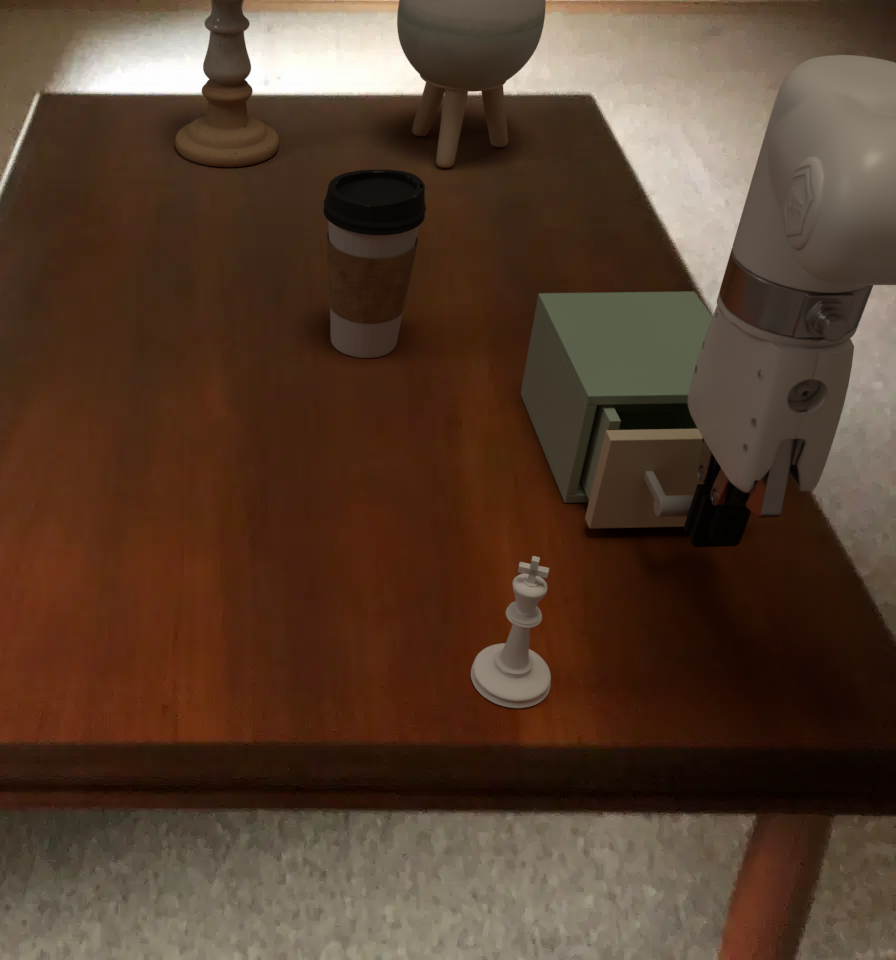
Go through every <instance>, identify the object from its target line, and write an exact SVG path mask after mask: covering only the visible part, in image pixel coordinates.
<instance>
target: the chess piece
mask: <svg viewBox="0 0 896 960" xmlns="http://www.w3.org/2000/svg"><path fill="white" fill-rule="evenodd" d="M540 558H541V557H539V556H536V555H532V556H531V561H530V563H528V562H524V561H519V563H518V569H517V573H520V574H518V575H516V576H515V577H514V578H513V580H512V591H513V594H514V599H515V601H512V602H510V604H509V605H508V606H507V607H506V609H505V617H506V618H507V620H508V621H509V622H510V623H511V624H512V625H511V629H510V630H509V633H508V636H507V638H506V641H505V642H502V643H495V644H492V645H489V646H486V647H485V648H483V649H482V650H481V651H479V652H478V653H477V655H475V658H474V659H473V663H472V665H471V668H470V679H471V682H472V684H473V687H474V688H475V690H476V691H477V692H478V693H479V694H480V695H481V696H482V697H483V698H484V699H486V700H487V701H489V702H491V703H492V704H495V705H498V706H500V707H503V708H510V709H527V708H530V707H533V706H536V705H539V704H540V703H541V702H542V701H544V700H545V699H546V698H547V696H548V694H549V693H550V690H551V685H552V684H551V683H552V681H551V680H552V675H551V670H550V668H549V666H548V663H547V662H546V661H545V660H544V659H543V657H541V656H540V655H539V654H538V653H537V652H535V651H534V650H533V649H530V635H531V634H530V632H531V628H532V629H533V628H535V627H537V626H539V625H540V624H541V622H542V620H543V615H542V614H543V613H542V610H541V609H540V608H539V606H538V605H539V604H540V602H541V601H542V600H543V598H544V597H545V596H546V595H547V592H548V589H549V588H548V584H547V582H546V580H545V579H548V578H549V577H548V576H549V573H550V572H549V571H550V567H547V566H542V565H539V564H540V560H541V559H540Z"/></svg>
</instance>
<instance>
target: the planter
mask: <svg viewBox="0 0 896 960" xmlns="http://www.w3.org/2000/svg"><path fill="white" fill-rule="evenodd" d="M546 4H547V3H546V0H398V5H397V15H396V16H397V17H396V27H397V35H398V41H399V44H400V47H401V49H402V51H403V53H404V56H405V57H406V59H407V61H408V62H409V64H410V66H412V68H413V69H414V71H416V72H417V73H418V74H419V76H420V78H421V79H422V81H424V82H425V84H424V87H423V91H422V94H421V95H422V96H421V98H420V102H419V104H418V108H417V111H416V113H415V117H414V120H413V123H412V127H411V131H412V134H413V135H414V136H416V137H425V136H427V135H428V134H429V133H430V131H431V128H432V126H433V123H434V121H435V118H436V115H437V114H438V111H439V109H440V106H441V104H442V111H441V116H440V117H441V118H440V125H439V134H438V142H437V147H436V158H435V163H436V165H437V166H438V167H440V168H441V169H449V168H452V167H453V166H454V164H455V161H456V157H457V153H458V146H459V142H460V136H461V131H462V127H463V123H464V122H463V121H464V117H465V112H466V106H467V101H468V95H469V93H470V92H473V93H474V92H481V98H482V105H483V109H484V115H485V121H486V126H487V132H488V136H489V142H490V144H491V146H493V147H494V148H498V149H500V148H504V147H506V146H507V145H508V143H509V135H508V133H509V132H508V124H507V123H508V122H507V115H506V114H507V113H506V104H505V103H506V102H505V92H504V85H505V84H506V82H507V81H508V80H510V79H511V78H513V77H514V76H515V75H517V73H519V72H520V71H521V70H522V69H523V68H524V67H525V65H526V64H527V63H528V62H529V61H530V59H531V58H532V56H533V55H534V53H535V52H536V50H537V48H538V45H539V44H540V41H541V38H542V35H543V29H544V25H545V20H546V19H545V17H546V6H547V5H546Z"/></svg>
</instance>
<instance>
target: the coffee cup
mask: <svg viewBox="0 0 896 960" xmlns="http://www.w3.org/2000/svg"><path fill="white" fill-rule="evenodd" d="M425 191H426V185H425V182H424V181H423V180H422V179H421V178H420V177H419V176H417V175H416V174H414V173H411V172H408V171H404V170H396V169H362V170H361V169H360V170H353V171H348V172H345V173H341V174H338V175H337V176H335V177H333V178H332V179H331V180H330V181H329V184H328V187H327V191H326V194H325V195H326V196H325V198H324V200H323V214H324V217H325V219H326V220H327V222H328V230H327V232H326V257H327V259H326V260H327V280H328V281H327V282H328V300H329V302H328V303H329V322H330V323H329V324H330V325H329V327H330V342H331V345H332V346H333V347H334V349H336V350H337V351H338V352H339V353H342V354H344V355H347V356H348V357H349V356H350V357H353V358H359V359H374V358H380V357H383V356H386V355H388V354H390V353H391V352H393V351H394V349H395V348H396V346H397V344H398V339H399V333H400V328H401V323H402V317H403V312H404V309H405V304H406V301H407V295H408V291H409V286H410V281H411V276H412V273H413V268H414V266H413V265H414V263H415V259H416V254H417V248H418V243H419V238H418V230H419V226H421V225H422V223H423V222H424V220H425V218H426V211H427V206H426V203H425V202H426V201H425V200H426V199H425V198H426V197H425V196H426V195H425Z"/></svg>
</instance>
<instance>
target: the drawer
mask: <svg viewBox="0 0 896 960" xmlns="http://www.w3.org/2000/svg"><path fill="white" fill-rule="evenodd" d="M702 438H703V437H702V435H701V433H700V431H699V430H698V428H697V426H696V424H695V422H694V420H693V418H692V416H691V414H690V411H689V408H688V403H677V404H616V405H597V408H596V412H595V416H594V421H593V425H592V429H591V434H590V438H589V442H588V447H587V451H586V455H585V460H584V464H583V468H582V472H581V477H580V480H581V483H582V485H583V487H584V490H585V492H586V494H587V497H588V499H589V503H587V508H586V512H585V515H584V519H585V521H586V525H587V527H588V528H589V529H630V528H633V529H635V528H674V527H675V528H677V527H678V528H680V527H681V528H682V527H683V528H684V525H685V522H686V519H687V516H688V512H689V509H690V506H691V503H692V500H693V496H694V493H695V490H696V487H697V484H704V482H700V481H699V479H698V474H697V471H698V465H699V461H700V456H701V452H702V447H703V442H702Z"/></svg>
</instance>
